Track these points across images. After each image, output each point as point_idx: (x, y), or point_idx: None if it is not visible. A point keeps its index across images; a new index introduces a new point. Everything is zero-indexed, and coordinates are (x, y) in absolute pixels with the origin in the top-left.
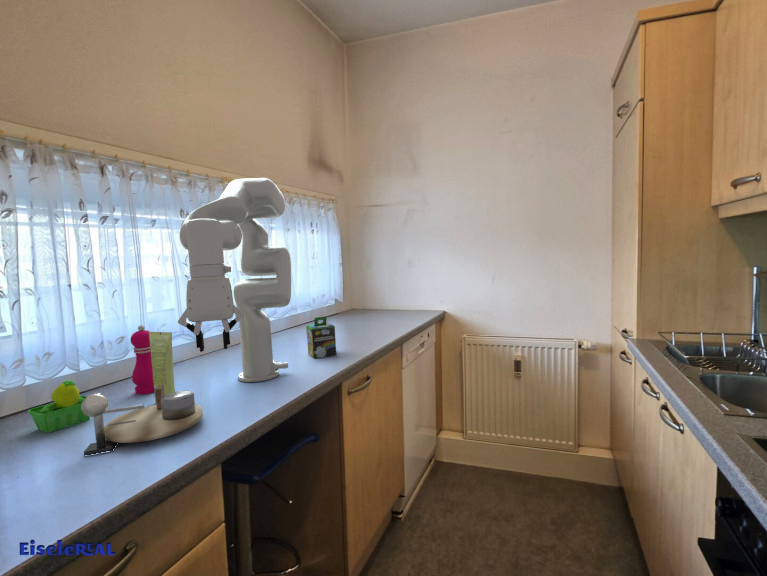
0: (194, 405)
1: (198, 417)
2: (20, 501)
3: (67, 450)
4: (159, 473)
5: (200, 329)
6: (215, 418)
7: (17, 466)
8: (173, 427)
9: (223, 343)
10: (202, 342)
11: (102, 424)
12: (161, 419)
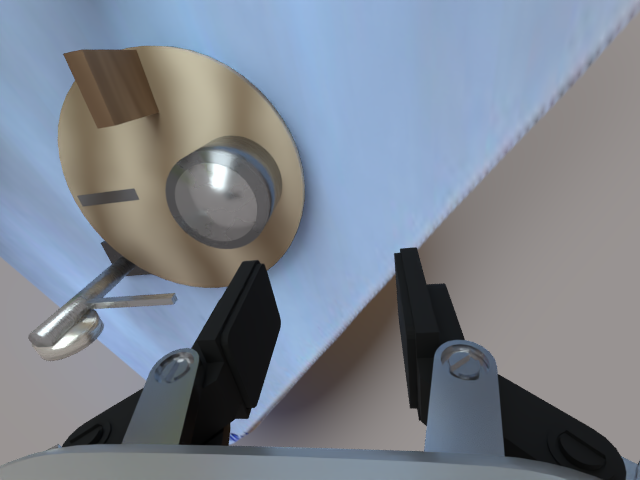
0: (276, 189)
1: (301, 211)
2: (141, 365)
3: (65, 233)
4: (294, 358)
5: (201, 392)
6: (335, 144)
7: (32, 272)
8: None
9: (402, 345)
10: (268, 366)
11: (110, 288)
12: None
